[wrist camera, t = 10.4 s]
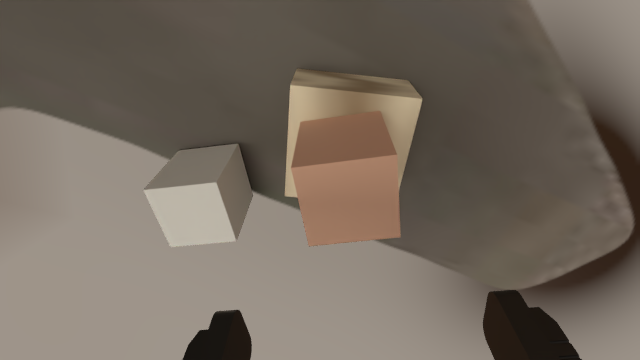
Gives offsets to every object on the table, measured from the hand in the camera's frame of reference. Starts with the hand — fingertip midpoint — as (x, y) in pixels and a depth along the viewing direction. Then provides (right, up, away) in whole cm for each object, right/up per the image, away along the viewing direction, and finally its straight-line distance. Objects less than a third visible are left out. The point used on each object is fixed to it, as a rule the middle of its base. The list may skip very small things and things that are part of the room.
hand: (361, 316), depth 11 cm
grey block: (-10, +5, +17) cm, 20 cm away
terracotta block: (0, +6, +11) cm, 13 cm away
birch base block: (+1, +9, +15) cm, 17 cm away
